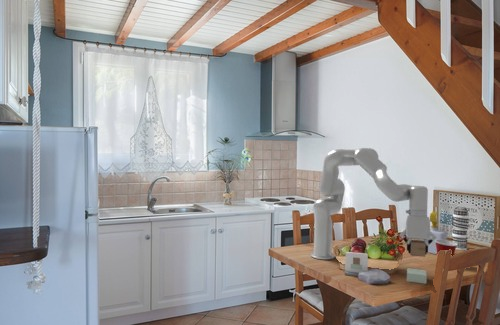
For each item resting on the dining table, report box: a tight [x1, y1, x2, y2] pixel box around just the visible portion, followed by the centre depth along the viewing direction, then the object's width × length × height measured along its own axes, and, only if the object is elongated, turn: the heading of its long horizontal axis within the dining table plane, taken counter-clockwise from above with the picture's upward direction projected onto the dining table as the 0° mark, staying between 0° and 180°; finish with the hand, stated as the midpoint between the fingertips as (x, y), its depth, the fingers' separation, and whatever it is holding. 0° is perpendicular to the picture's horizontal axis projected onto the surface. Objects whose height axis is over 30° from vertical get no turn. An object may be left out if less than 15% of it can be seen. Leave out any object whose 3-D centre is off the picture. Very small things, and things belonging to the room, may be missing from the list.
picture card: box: [344, 251, 369, 277], centre depth 184 cm, size 6×10×10 cm, turn 74°
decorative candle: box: [451, 206, 469, 251], centre depth 238 cm, size 9×9×25 cm
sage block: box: [406, 267, 428, 285], centre depth 178 cm, size 8×8×4 cm
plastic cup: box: [435, 239, 458, 257], centre depth 203 cm, size 11×11×12 cm
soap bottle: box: [420, 211, 448, 256], centre depth 226 cm, size 12×7×23 cm, turn 37°
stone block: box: [357, 268, 391, 285], centre depth 175 cm, size 12×5×10 cm
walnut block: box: [409, 239, 426, 258], centre depth 178 cm, size 6×6×6 cm
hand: (417, 252), depth 178 cm, fingers closed on walnut block, 6 cm apart
